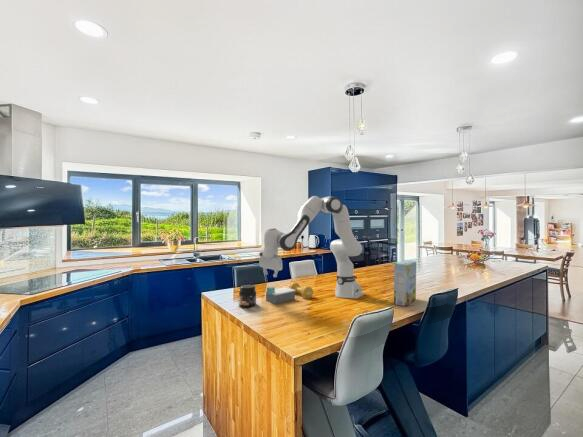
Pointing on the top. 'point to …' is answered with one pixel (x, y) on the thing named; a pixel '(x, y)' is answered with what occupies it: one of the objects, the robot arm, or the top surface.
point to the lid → (278, 290)
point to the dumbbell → (302, 290)
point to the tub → (280, 297)
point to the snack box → (405, 282)
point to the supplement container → (247, 296)
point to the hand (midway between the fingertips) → (270, 275)
